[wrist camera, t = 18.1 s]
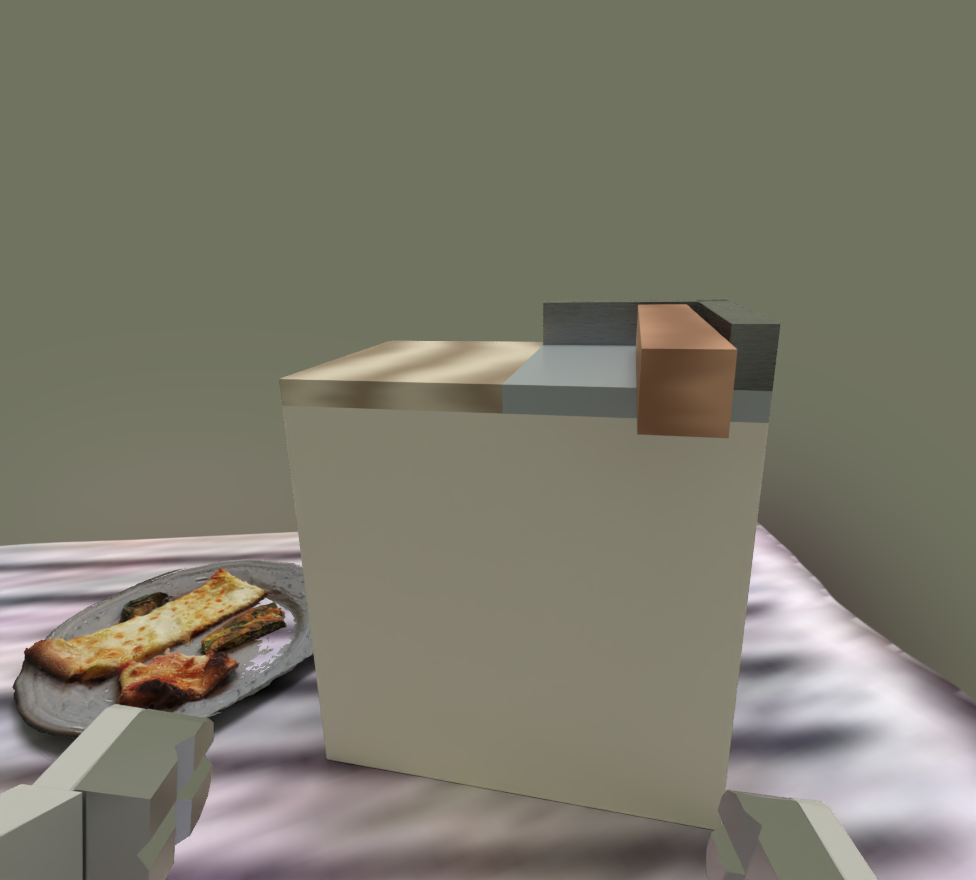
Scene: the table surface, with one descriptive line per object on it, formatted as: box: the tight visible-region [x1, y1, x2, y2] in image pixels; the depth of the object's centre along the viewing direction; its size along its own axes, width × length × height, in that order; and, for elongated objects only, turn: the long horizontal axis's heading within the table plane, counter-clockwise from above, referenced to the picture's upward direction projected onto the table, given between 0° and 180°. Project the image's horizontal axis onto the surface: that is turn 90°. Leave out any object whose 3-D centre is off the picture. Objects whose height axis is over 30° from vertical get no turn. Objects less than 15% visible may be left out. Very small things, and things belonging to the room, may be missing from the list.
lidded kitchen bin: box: [279, 300, 780, 830], centre depth 40 cm, size 25×16×29 cm, turn 77°
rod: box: [636, 304, 737, 438], centre depth 29 cm, size 3×20×3 cm, turn 167°
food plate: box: [13, 560, 314, 737], centre depth 52 cm, size 25×23×4 cm
